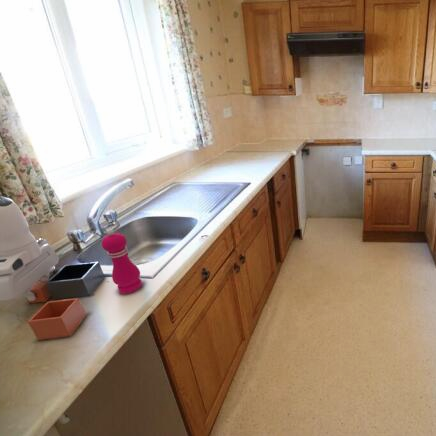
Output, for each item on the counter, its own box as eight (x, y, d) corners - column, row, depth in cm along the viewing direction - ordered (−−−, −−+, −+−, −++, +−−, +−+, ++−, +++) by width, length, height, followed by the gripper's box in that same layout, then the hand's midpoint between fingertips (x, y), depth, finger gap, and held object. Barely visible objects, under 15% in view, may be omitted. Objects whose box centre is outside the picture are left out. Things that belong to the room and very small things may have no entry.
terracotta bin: (37, 340, 81) (27, 321, 78) (56, 319, 87) (47, 301, 85) (70, 336, 81) (61, 317, 79) (86, 315, 88) (78, 297, 86)
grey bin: (53, 299, 95) (45, 283, 93) (72, 280, 104) (64, 265, 101) (89, 295, 96) (82, 279, 94) (105, 277, 105) (98, 261, 102)
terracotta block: (29, 303, 94) (23, 291, 92) (39, 293, 98) (33, 282, 96) (46, 301, 95) (39, 289, 93) (55, 292, 99) (49, 280, 97)
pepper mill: (136, 277, 104) (117, 222, 95) (148, 285, 100) (129, 227, 91) (113, 289, 98) (89, 231, 90) (124, 297, 95) (101, 238, 86)
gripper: (32, 236, 99) (50, 274, 105) (-24, 275, 80) (2, 317, 86) (54, 234, 99) (71, 272, 105) (4, 272, 81) (28, 314, 87)
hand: (40, 293), depth 96 cm, fingers closed on terracotta block, 4 cm apart
